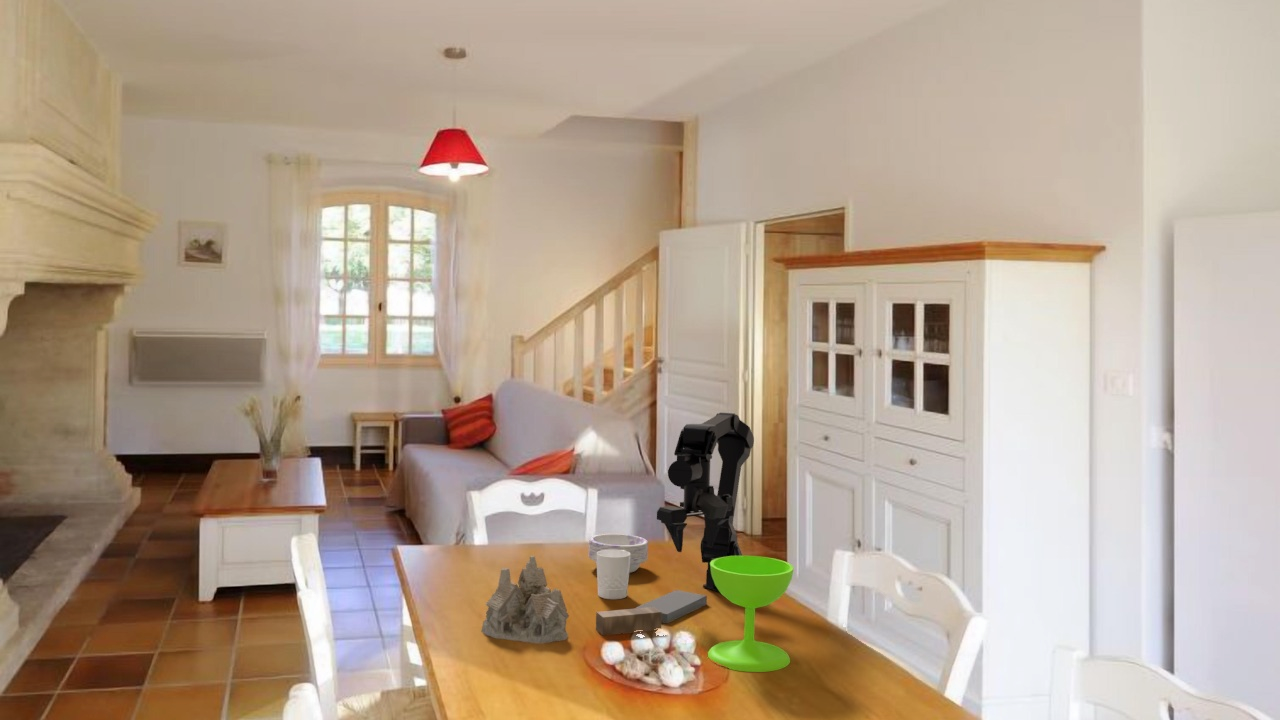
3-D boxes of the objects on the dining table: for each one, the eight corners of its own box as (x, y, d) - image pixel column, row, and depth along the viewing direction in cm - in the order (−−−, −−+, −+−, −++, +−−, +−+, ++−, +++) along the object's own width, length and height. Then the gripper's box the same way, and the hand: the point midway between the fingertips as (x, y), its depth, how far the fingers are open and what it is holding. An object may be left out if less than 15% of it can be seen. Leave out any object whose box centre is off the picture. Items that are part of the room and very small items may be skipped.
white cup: (625, 601, 233) (626, 558, 233) (591, 598, 235) (593, 555, 235) (632, 592, 241) (633, 550, 241) (600, 590, 243) (601, 548, 242)
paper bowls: (658, 568, 265) (659, 538, 265) (626, 580, 252) (627, 548, 252) (609, 559, 273) (610, 530, 273) (576, 570, 261) (577, 539, 260)
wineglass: (695, 663, 193) (698, 569, 192) (721, 639, 208) (724, 552, 207) (778, 677, 187) (781, 579, 186) (798, 651, 202) (802, 561, 201)
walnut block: (654, 606, 217) (596, 611, 212) (661, 612, 213) (603, 617, 208) (653, 625, 217) (595, 631, 212) (660, 630, 213) (602, 636, 208)
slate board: (676, 598, 237) (676, 590, 237) (706, 604, 233) (706, 595, 233) (635, 616, 222) (635, 607, 222) (667, 623, 218) (667, 614, 218)
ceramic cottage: (475, 624, 213) (481, 554, 211) (550, 620, 219) (556, 552, 218) (496, 652, 198) (502, 577, 197) (575, 647, 205) (582, 574, 204)
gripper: (689, 489, 218) (687, 562, 218) (752, 482, 229) (749, 551, 230) (656, 481, 226) (654, 551, 227) (718, 475, 238) (716, 542, 239)
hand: (694, 549), depth 230 cm, fingers open, 9 cm apart
